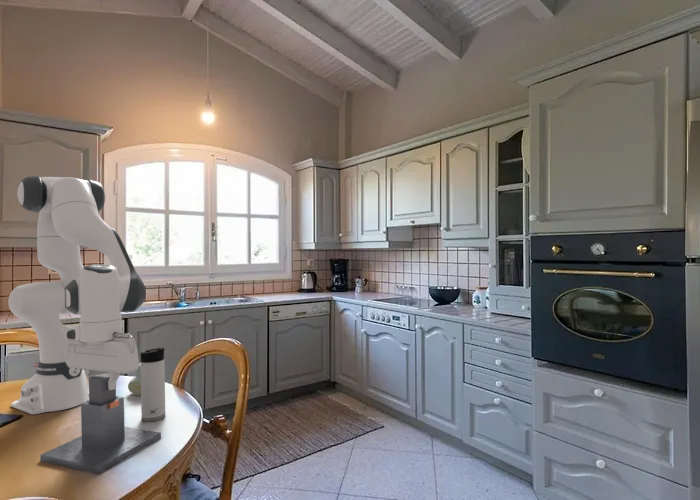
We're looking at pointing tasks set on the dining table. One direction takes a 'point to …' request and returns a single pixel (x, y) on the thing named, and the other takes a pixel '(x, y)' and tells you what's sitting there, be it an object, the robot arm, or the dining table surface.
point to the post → (100, 390)
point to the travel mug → (152, 385)
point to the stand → (101, 439)
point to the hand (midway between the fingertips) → (102, 388)
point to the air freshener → (136, 383)
